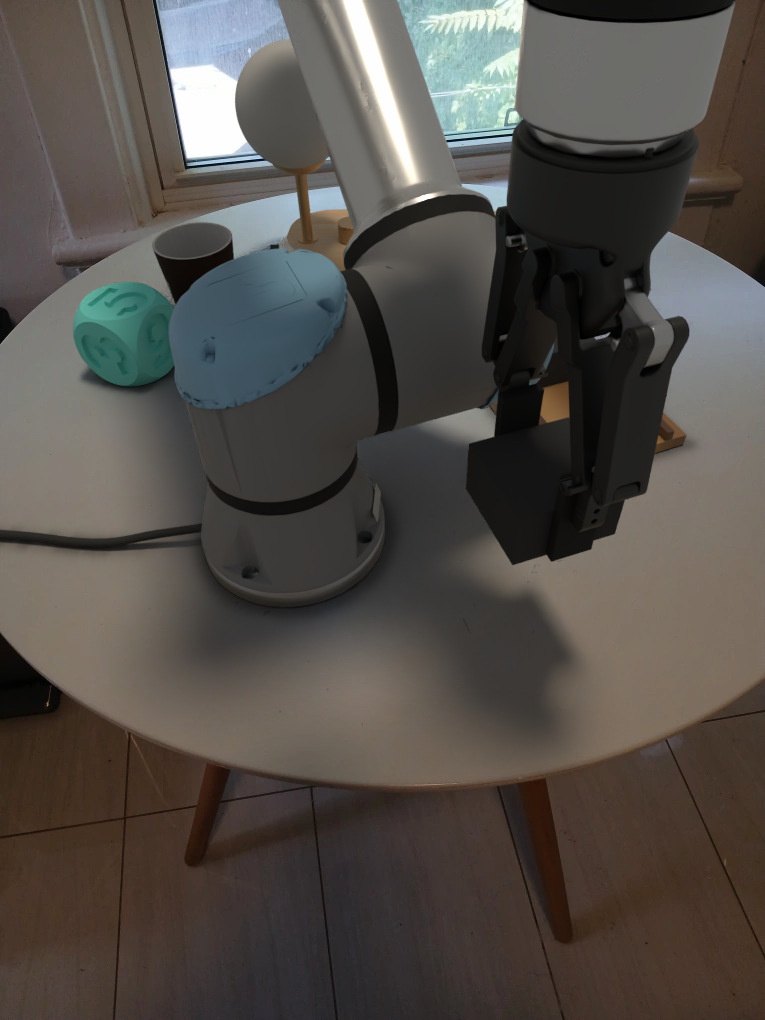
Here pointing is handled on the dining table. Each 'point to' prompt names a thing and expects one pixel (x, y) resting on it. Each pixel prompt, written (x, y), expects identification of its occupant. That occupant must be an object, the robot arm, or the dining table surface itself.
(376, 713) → the dining table surface
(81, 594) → the dining table surface
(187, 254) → the coffee mug
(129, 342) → the decorative dice
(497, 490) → the black rectangular block
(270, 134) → the lamp
